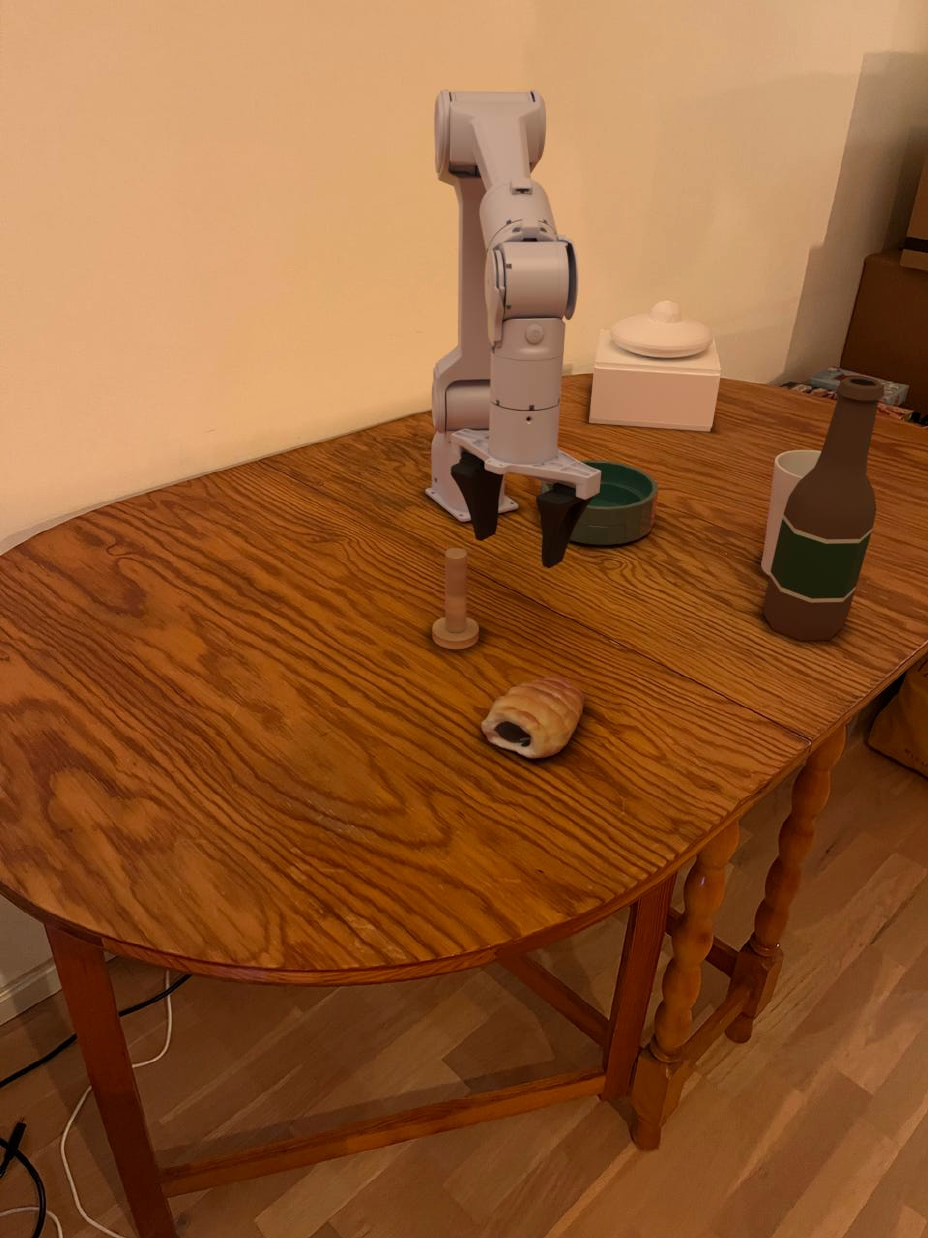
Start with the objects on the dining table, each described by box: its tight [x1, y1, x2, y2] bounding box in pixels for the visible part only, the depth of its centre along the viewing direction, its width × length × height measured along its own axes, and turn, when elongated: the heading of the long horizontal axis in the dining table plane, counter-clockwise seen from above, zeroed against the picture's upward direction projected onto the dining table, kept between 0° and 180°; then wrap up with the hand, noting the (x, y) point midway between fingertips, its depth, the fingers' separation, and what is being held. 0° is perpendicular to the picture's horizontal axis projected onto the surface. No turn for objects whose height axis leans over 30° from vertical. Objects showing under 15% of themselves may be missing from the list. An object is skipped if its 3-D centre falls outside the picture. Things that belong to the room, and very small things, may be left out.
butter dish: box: [588, 300, 722, 433], centre depth 136 cm, size 18×18×16 cm
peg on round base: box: [431, 547, 480, 650], centre depth 84 cm, size 4×4×9 cm
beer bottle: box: [762, 375, 885, 642], centre depth 83 cm, size 8×8×24 cm
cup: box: [760, 449, 822, 577], centre depth 95 cm, size 8×8×12 cm
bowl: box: [538, 459, 659, 546], centre depth 105 cm, size 13×13×5 cm
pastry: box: [480, 675, 585, 759], centre depth 74 cm, size 9×7×4 cm
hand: (518, 549), depth 81 cm, fingers open, 7 cm apart
